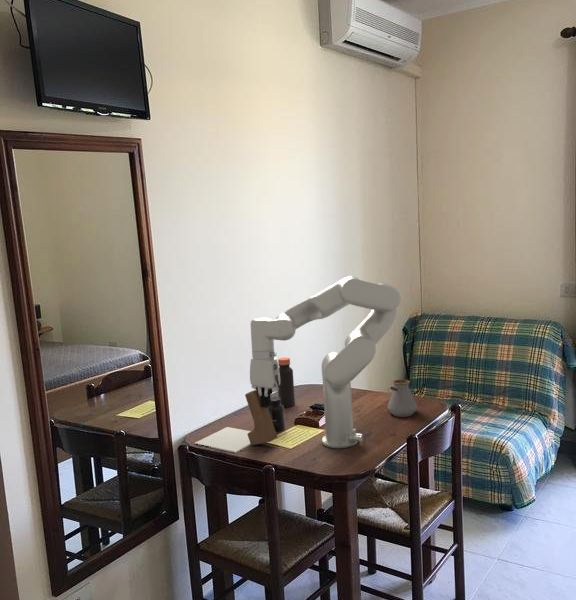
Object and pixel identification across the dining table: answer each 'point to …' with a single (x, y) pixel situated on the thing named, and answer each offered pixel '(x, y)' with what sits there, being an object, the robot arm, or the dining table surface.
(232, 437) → the off-white mat
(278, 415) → the supplement bottle
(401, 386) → the coffee pot
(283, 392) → the vinegar
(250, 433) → the wooden block
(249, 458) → the dining table surface
